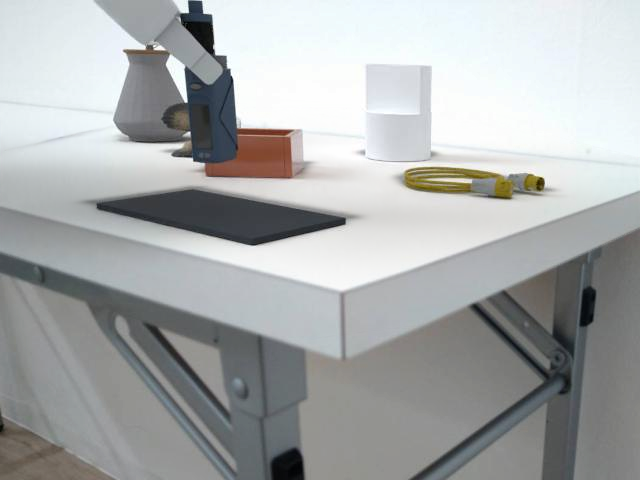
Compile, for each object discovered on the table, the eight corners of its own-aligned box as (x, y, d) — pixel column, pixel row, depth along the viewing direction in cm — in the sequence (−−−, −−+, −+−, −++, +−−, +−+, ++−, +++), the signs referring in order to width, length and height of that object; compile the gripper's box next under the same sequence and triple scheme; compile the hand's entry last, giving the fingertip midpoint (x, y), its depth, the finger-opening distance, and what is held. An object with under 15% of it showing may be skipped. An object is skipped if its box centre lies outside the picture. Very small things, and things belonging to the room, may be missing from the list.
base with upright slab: (442, 156, 104) (444, 65, 100) (409, 163, 96) (410, 65, 92) (387, 151, 108) (387, 63, 104) (352, 157, 100) (350, 63, 96)
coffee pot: (195, 143, 110) (185, 34, 105) (111, 143, 107) (97, 31, 102) (195, 129, 129) (187, 37, 124) (124, 129, 126) (112, 34, 121)
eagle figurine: (215, 139, 106) (153, 130, 99) (233, 97, 102) (170, 85, 95) (235, 174, 103) (173, 167, 96) (255, 132, 99) (191, 122, 92)
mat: (96, 208, 64) (95, 202, 64) (193, 194, 72) (192, 188, 72) (252, 245, 54) (252, 238, 54) (346, 223, 61) (346, 217, 61)
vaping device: (186, 163, 59) (170, -1, 55) (214, 155, 64) (202, 3, 60) (217, 165, 59) (204, -1, 54) (243, 156, 64) (232, 4, 59)
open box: (205, 176, 82) (202, 134, 81) (224, 165, 90) (221, 127, 89) (292, 178, 83) (290, 136, 81) (303, 167, 91) (302, 129, 89)
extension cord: (444, 203, 71) (445, 182, 70) (386, 178, 84) (386, 160, 84) (552, 196, 76) (553, 177, 75) (481, 174, 89) (482, 157, 88)
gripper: (68, -136, 44) (250, 47, 50) (108, -82, 62) (238, 47, 68) (-3, -56, 44) (187, 116, 50) (57, -26, 62) (191, 97, 68)
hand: (216, 76), depth 59 cm, fingers closed on vaping device, 5 cm apart
